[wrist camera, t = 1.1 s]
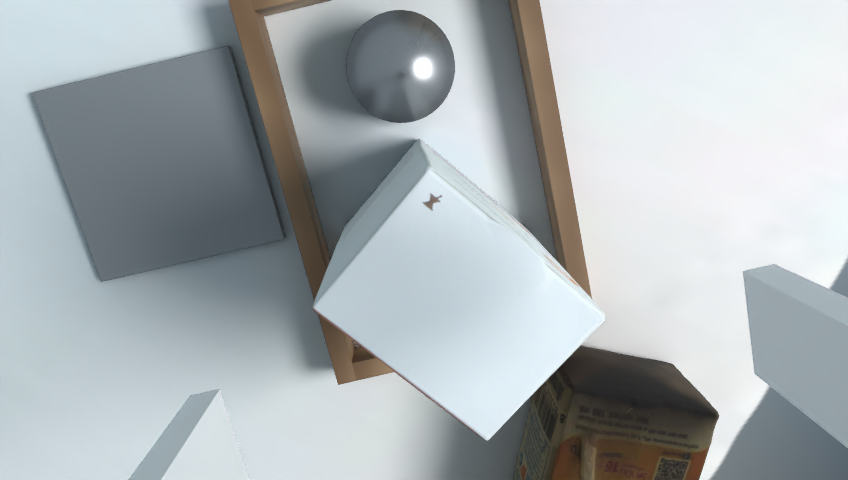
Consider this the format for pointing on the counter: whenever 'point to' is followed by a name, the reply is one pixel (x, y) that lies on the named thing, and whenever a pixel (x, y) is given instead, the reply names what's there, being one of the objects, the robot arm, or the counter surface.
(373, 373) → the frame
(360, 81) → the tin
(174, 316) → the counter surface
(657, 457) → the beverage carton
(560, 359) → the small box
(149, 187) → the mat
